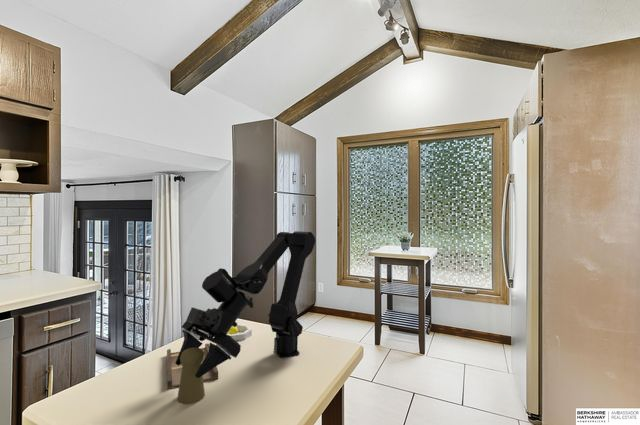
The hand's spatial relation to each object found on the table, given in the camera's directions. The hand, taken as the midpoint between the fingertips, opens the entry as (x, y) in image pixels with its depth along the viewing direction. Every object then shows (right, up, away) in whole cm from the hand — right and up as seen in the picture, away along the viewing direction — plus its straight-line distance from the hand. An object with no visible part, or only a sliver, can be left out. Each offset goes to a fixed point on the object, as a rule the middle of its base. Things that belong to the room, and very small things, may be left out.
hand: (186, 370), depth 73 cm
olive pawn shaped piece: (+1, -7, +1) cm, 7 cm away
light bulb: (-1, -8, +40) cm, 41 cm away
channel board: (-6, -7, +16) cm, 18 cm away
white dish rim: (0, -8, +41) cm, 41 cm away
